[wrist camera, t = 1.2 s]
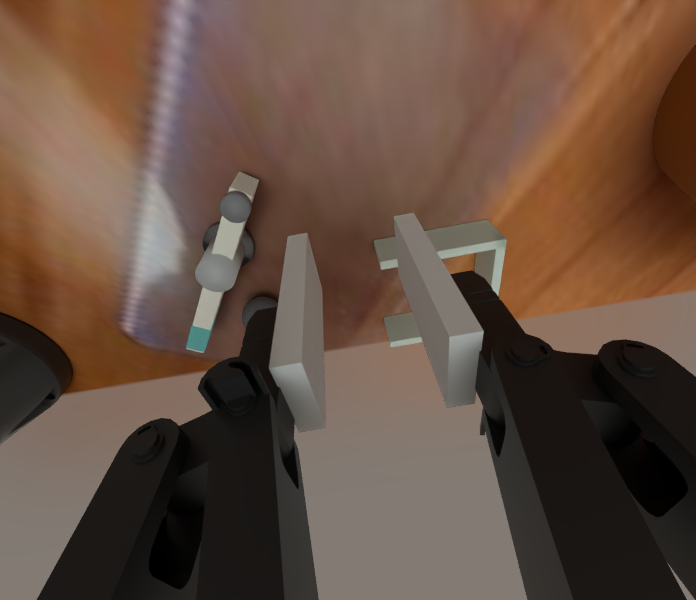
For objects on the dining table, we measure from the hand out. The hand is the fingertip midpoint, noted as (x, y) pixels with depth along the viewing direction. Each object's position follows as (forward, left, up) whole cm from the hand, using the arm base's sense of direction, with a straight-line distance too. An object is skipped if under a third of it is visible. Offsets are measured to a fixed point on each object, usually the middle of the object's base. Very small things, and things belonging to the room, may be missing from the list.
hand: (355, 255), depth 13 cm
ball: (-10, -14, -17) cm, 24 cm away
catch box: (+8, -14, -17) cm, 23 cm away
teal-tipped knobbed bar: (-12, -7, -16) cm, 21 cm away
